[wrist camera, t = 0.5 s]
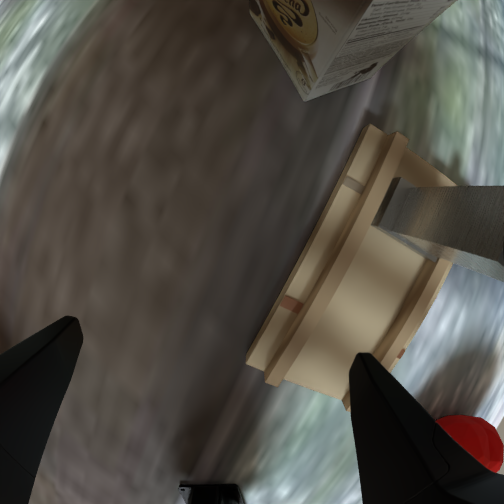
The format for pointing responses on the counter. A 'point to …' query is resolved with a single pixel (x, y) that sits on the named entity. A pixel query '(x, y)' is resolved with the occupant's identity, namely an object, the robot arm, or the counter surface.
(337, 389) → the fader track
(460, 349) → the counter surface
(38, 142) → the counter surface
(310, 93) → the coffee box
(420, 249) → the fader knob
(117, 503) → the counter surface
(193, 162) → the counter surface
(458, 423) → the tomato
